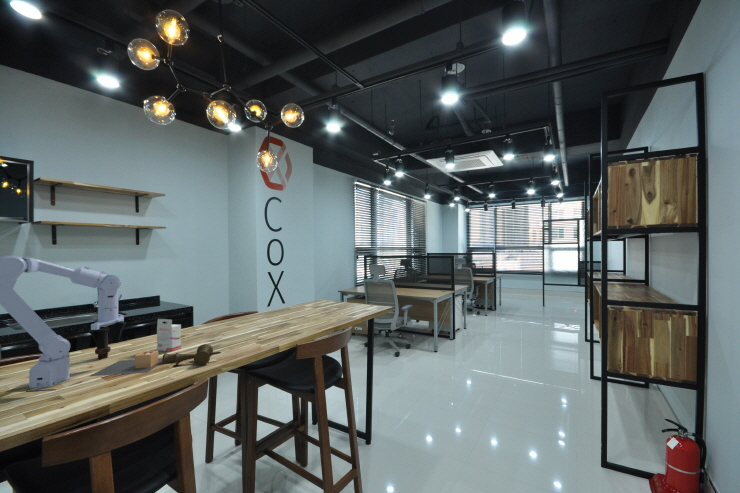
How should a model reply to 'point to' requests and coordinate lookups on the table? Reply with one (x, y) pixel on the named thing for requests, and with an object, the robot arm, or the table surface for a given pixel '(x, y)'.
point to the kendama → (191, 356)
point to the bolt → (103, 350)
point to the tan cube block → (146, 359)
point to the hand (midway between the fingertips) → (108, 345)
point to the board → (124, 368)
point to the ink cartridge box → (168, 336)
